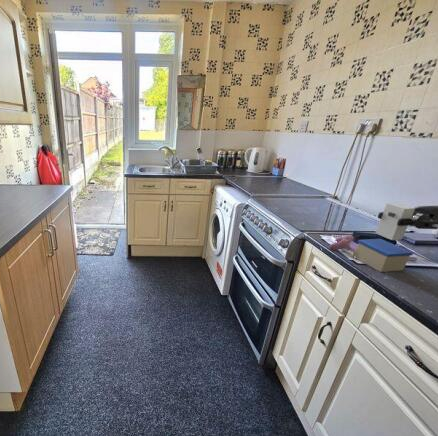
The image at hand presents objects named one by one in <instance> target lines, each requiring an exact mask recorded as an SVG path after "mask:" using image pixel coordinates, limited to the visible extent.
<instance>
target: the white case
mask: <svg viewBox="0 0 438 436" xmlns="http://www.w3.org/2000/svg"><path fill="white" fill-rule="evenodd" d="M383 211H384V212H383ZM383 211H382V212H383V215H382V217H381V219H379V221H378V225H377V228H376V230H375V231H374V233H375V234H376V235H379V236H381V237H383V238H385V239H388V240H390V241H398V240H403V238H404V236H405V233H406V231H407V229H408V226H399V225H397V222H398V220H399V219H407V218H409V219H411V217H412V215H413V213H414V211H415V207H412V206H410V205H406V204H403V203H398V202H388V203H386V204H385V206H384V209H383Z"/></svg>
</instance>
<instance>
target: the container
mask: <svg viewBox="0 0 438 436" xmlns="http://www.w3.org/2000/svg"><path fill="white" fill-rule="evenodd" d="M413 255H414V252H412V251H410V250H407V249H405V248H403V247H401V246H398V245H396V244H394V243H392V242H389V241H387V240H384V239H382V238H370V239H367V238H366V239H358V240H357V247H356V249H355V251H354V254H353V256H355V257H356V258H358V259H359V260H358V259H357V260H358V261H360V262H361V261H362V262H361V263H362V264H365V265H367V266H368V267H371V268H372V269H374V270H376V271H378V272H380V273H386V272H399V271H400V272H401V271H404V269H405V268H406V265H407V263H408V261H409V259H410V257H411V256H413ZM356 258H355V259H356Z"/></svg>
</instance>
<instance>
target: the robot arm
mask: <svg viewBox="0 0 438 436" xmlns="http://www.w3.org/2000/svg"><path fill="white" fill-rule="evenodd" d="M414 208H415V211H414V213H413V215H412V217H411V219H409V218H407V219H399V220H398V222H397V225H399V226H407V227H411V228H412V227H413V228H416V229H419V230H438V205H421V206H420V205H419V206H415V207H414ZM383 212H384V210H383V211H380V212H379V213H378V215H377V218H378V219H379V220H380V219H381V217H382V215H383Z"/></svg>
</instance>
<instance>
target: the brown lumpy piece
mask: <svg viewBox="0 0 438 436" xmlns="http://www.w3.org/2000/svg"><path fill="white" fill-rule="evenodd" d="M350 234H351V233H350ZM350 234H345V235H344V236H339V237H337V238H336V239H334V243H331V244H329V249H330V250H334V251H338V250H340V249H342V250H343V249H346V248H347V249H348V248H350V247H351V243H352V242H354V240H355V239H356V238H355V237H354V235H350ZM335 241H337V243H336V242H335Z"/></svg>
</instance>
